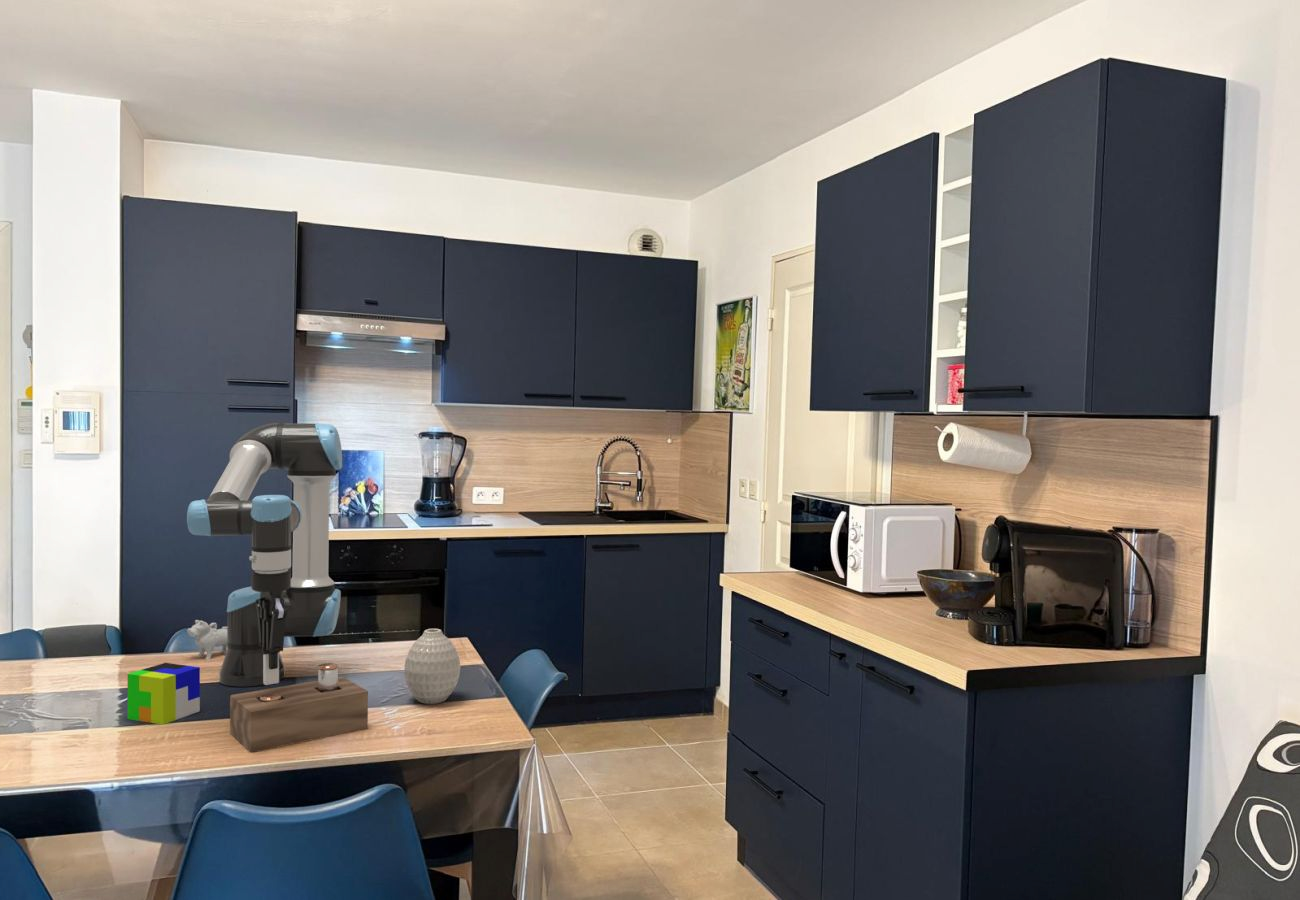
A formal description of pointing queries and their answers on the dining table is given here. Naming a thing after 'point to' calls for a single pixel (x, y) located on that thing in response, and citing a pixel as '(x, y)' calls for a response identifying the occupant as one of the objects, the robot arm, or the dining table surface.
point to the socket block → (297, 714)
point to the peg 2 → (327, 677)
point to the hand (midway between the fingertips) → (271, 682)
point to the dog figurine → (208, 637)
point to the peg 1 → (270, 698)
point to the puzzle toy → (163, 693)
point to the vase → (432, 667)
